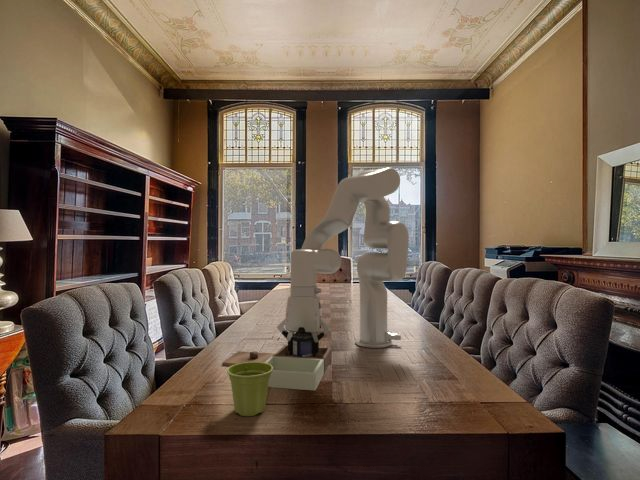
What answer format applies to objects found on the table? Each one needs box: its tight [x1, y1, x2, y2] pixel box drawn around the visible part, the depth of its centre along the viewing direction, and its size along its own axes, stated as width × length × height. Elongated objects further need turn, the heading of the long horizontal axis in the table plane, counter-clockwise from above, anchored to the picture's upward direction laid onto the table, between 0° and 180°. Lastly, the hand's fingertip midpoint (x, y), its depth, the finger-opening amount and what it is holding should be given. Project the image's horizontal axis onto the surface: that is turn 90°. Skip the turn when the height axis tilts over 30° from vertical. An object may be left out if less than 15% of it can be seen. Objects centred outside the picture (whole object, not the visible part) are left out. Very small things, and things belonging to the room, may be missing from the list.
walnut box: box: [273, 344, 332, 373], centre depth 108 cm, size 15×12×4 cm
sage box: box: [265, 356, 325, 392], centre depth 95 cm, size 15×12×4 cm
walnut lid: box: [221, 350, 277, 367], centre depth 111 cm, size 15×12×2 cm
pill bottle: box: [293, 327, 314, 357], centre depth 108 cm, size 6×6×11 cm
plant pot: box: [226, 362, 273, 417], centre depth 78 cm, size 9×9×9 cm
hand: (303, 353), depth 108 cm, fingers closed on pill bottle, 6 cm apart
